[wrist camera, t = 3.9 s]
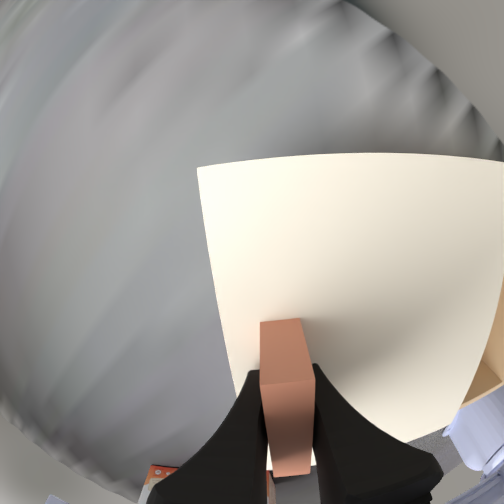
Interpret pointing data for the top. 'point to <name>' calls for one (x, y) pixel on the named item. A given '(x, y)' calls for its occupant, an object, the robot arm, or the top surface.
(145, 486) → the cracker box
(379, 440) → the robot arm
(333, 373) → the lid
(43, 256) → the top surface
